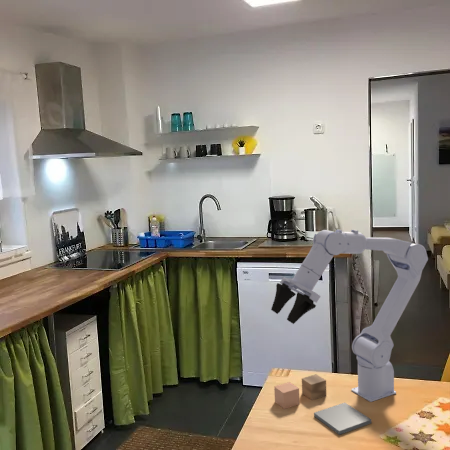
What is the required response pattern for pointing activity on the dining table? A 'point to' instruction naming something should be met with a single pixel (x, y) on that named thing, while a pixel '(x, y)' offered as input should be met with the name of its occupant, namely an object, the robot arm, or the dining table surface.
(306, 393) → the walnut brick
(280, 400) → the pinkish tan block
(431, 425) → the dining table surface
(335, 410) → the base plate
